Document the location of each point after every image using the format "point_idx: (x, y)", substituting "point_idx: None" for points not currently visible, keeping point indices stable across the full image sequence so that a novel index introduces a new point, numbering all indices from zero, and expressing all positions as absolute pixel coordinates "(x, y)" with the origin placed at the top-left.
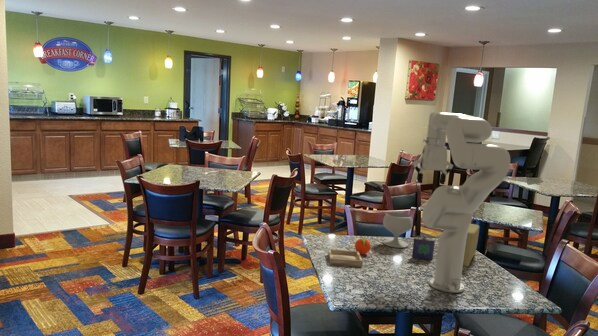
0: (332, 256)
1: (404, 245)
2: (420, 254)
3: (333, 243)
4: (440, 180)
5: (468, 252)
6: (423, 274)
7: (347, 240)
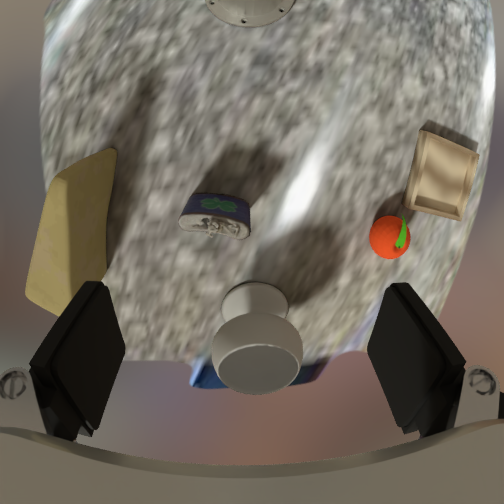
0: (457, 193)
1: (236, 296)
2: (229, 200)
3: None
4: (111, 359)
5: (94, 155)
6: (276, 68)
7: (366, 321)
